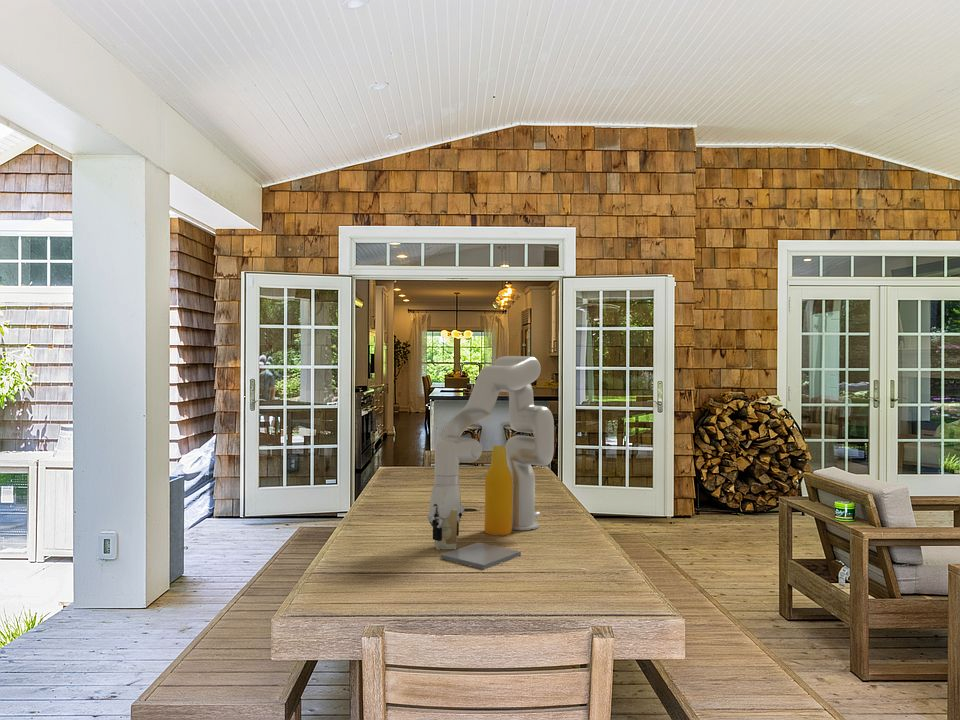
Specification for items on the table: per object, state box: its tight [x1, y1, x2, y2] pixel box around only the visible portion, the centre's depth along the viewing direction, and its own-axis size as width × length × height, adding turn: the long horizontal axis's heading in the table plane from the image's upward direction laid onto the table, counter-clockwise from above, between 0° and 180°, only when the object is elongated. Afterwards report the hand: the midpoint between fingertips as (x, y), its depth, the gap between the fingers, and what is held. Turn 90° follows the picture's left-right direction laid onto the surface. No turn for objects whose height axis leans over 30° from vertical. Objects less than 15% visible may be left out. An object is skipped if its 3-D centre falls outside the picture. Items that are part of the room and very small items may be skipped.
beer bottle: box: [483, 445, 513, 536], centre depth 236 cm, size 9×9×29 cm
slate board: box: [439, 542, 522, 570], centre depth 207 cm, size 18×16×1 cm
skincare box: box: [434, 509, 458, 551], centre depth 217 cm, size 6×4×12 cm
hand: (445, 537), depth 216 cm, fingers closed on skincare box, 7 cm apart
